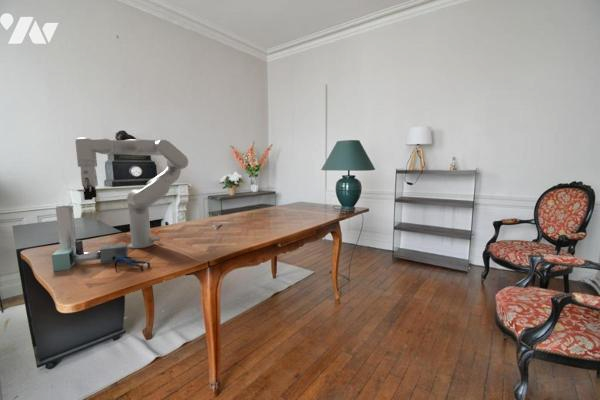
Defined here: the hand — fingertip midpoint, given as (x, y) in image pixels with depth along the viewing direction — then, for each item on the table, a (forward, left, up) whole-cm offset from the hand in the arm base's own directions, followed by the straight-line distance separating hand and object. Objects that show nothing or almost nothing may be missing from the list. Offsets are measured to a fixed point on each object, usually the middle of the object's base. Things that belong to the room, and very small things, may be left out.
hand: (90, 198), depth 137 cm
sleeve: (-10, +16, -28) cm, 34 cm away
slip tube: (+1, +16, -27) cm, 31 cm away
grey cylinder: (+12, -6, -28) cm, 32 cm away
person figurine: (-17, +30, -29) cm, 45 cm away
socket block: (+9, +16, -28) cm, 34 cm away
